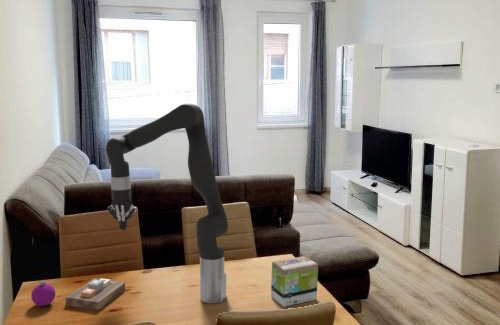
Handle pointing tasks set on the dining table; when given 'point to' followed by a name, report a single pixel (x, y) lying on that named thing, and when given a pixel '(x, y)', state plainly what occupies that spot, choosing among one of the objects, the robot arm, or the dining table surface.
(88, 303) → the keypad board
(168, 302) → the dining table surface
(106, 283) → the key ivory
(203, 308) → the dining table surface
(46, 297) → the christmas ornament
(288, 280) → the tea box
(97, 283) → the key slate
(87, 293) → the key terracotta
